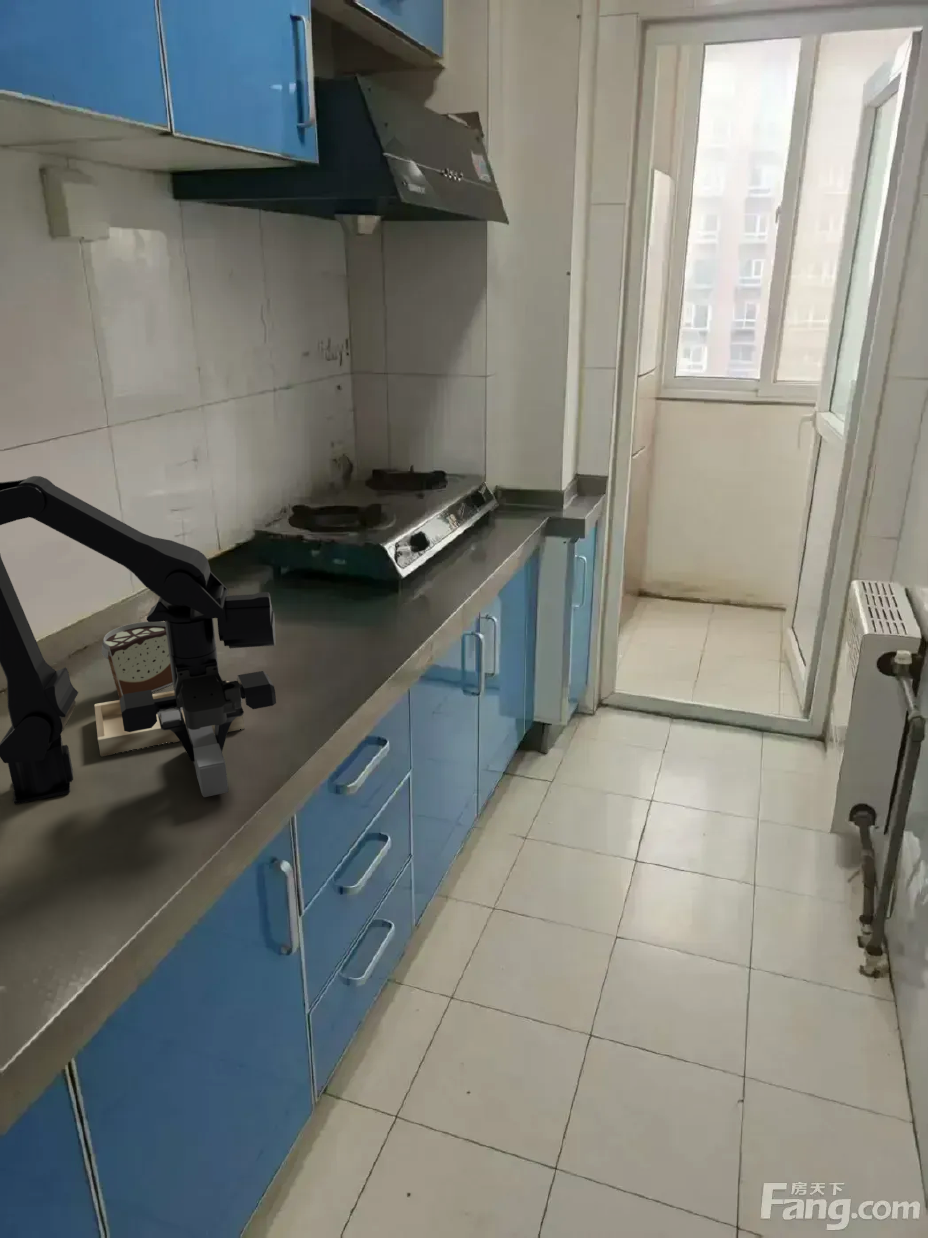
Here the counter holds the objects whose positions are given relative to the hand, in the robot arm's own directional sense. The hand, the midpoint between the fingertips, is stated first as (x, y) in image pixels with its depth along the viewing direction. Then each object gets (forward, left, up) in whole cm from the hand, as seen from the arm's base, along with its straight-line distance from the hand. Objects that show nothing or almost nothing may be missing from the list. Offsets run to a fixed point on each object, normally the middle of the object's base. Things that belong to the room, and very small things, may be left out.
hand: (205, 757), depth 113 cm
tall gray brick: (0, 0, -1) cm, 1 cm away
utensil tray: (-3, +16, -2) cm, 16 cm away
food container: (-6, +31, -3) cm, 32 cm away
